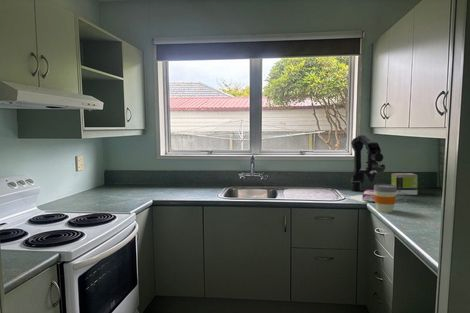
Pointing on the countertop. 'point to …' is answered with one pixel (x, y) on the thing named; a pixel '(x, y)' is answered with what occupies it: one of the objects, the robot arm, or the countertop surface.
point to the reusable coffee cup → (385, 197)
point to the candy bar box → (368, 195)
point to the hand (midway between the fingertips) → (371, 182)
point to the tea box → (405, 183)
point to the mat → (357, 198)
